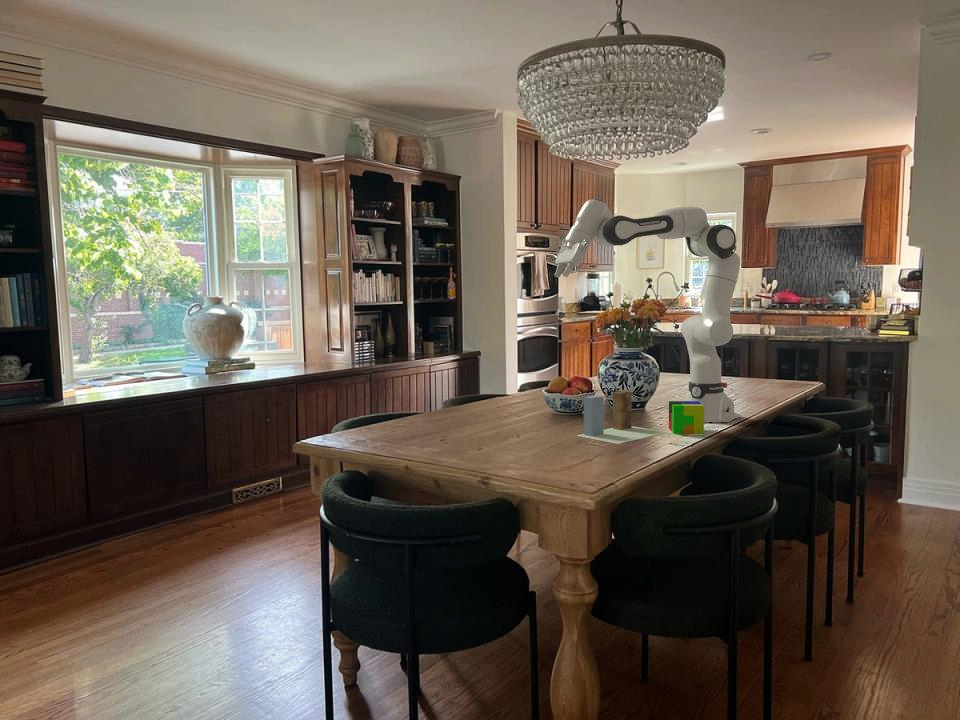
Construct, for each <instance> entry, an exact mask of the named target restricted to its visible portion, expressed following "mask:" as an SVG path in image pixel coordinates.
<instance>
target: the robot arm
mask: <svg viewBox="0 0 960 720" xmlns="http://www.w3.org/2000/svg"><path fill="white" fill-rule="evenodd" d="M610 210H611V209H609V206H608V203H606V202H605V201H604V200H601V199H596V198H591V199H588V200H587V201H585V202H584V204H583V205H582V207H581V208H580V210H579V211H578V214H577V215H576V218H575V222H574V224H573V225H572V226H571V227H570V229H569V232H568V233H567V235H566V236H565V237H564V238H563V240H562V242H561V244H562V245H561V247H560V249H559V252H558V253H557V255H556V258H555V260H554V261H555V262H554V263H555V264H556V266H557V267H556V271H555V273H554V277H556V278H560V277H561V275H562V277H565V278H568V277H569V275H570V273H571V272H572V271H573V270H574V268H575V267H578V266H580V265H581V264H582V262H583V260H584V258H585V256H586V253H587V252H588V250H589V249H590V247H591V244H592V243H593V241H595V242H596V243H597V244H598V245H600V246H602V247H604V248H609V247H617V246H625V245H626V244H629V243H630V242H632V241H633V240H634V239H637V238H641V237H649V236H650V237H651V236H656V237H658V238H659V239H660V240H676V239H678V240H679V239H684V238H685V241H686V247H687V249H688V251H689V253H691V254H692V255H693V256H696V257H700V258H702V257H704V258H705V257H706V258H707V257H708V269H707V272H706V274H705V277H704V278H705V279H704V282H703V285H702V289H701V292H700V295H699V297H700V300H701V304H702V307H701V308H702V309H701V314H695V315H692V316H690V317H687V318H686V319H684V320H683V322H682V323H681V327H680V333H681V336H682V338H683V339H684V341H685V343H686V344H685V345H686V347H687V352H688V356H689V357H688V358H689V372H690V375H689V379H690V380H689V382H688V392H689V394H687V396H686V400H685V401H699V402H700V403H701V404H703V405H704V423H709V422H712V423H721V422H728V423H730V422H732V421H731V420H733V419H735V418H737V417H739V416H741V417H742V415H741V414H740V413H736V412H735V403H734V400H732V399H731V398H730V397H729V396H728V395H727V394H726V393H725V392H724V391H725V389H727V388H728V382H726V381H725V382H723V381H722V360H721V357H719V355H718V352H717V348H716V347H718V346H724V345H727V343H729V342H730V341H731V340H732V338H733V335H734V327H733V325H732V323H731V305H732V300H733V296H734V292H735V289H736V285H737V282H738V279H739V274H740V268H741V267H740V266H741V257H740V256H739V254H737V253H736V250H737V246H736V245H737V235H736V232H735V230H734V229H733V228H732V227H731V226H729V225H726V224H722V223H721V224H713V225H711V224H710V223H709V221H708V215H707V213H706V211H705V210H704V209H703V208H702V207H697V206H680V207H672V208H667V209H664V210H661V211H658V212H657V213H655V215H654V216H650V217H641V218H631V217H628V216H625V215H616V216H613V214H612V213H611V211H610ZM564 268H565V269H564ZM737 419H738V418H737ZM735 420H736V419H735ZM729 421H730V422H729ZM733 421H734V420H733Z"/></svg>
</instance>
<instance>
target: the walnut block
mask: <svg viewBox="0 0 960 720" xmlns="http://www.w3.org/2000/svg"><path fill="white" fill-rule="evenodd" d="M632 397H633V395H632V390H631V391H629V390H618V391H613V392H612V428H613V429H617V430H624V429H628V428H632V426H633V425H632V424H633V423H632V419H633V417H632V413H633V411H632V407H633V406H632V405H633V403H632V402H633V400H632V399H633V398H632Z"/></svg>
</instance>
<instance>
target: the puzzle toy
mask: <svg viewBox="0 0 960 720" xmlns="http://www.w3.org/2000/svg"><path fill="white" fill-rule="evenodd" d="M668 430H670V431H671V433H672V434H673V435H679V436H683V435H682V434H704V435H705V422H704V405H703V404H701V403H700V402H699V401H686V400H684V401H683V400H673V401H671V400H670V401H669V400H668ZM680 434H681V435H680Z"/></svg>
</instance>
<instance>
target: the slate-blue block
mask: <svg viewBox="0 0 960 720" xmlns="http://www.w3.org/2000/svg"><path fill="white" fill-rule="evenodd" d="M604 397H605V396H603V395H599V394H598V395H597V394H594V395H589V396H583V434H584V435H587V436H596V435H601V434H604V430H605V429H604V428H605V427H604V426H605V425H604V424H605V423H604V409H605V407H604V403H605V402H604V400H605V399H604Z"/></svg>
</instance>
